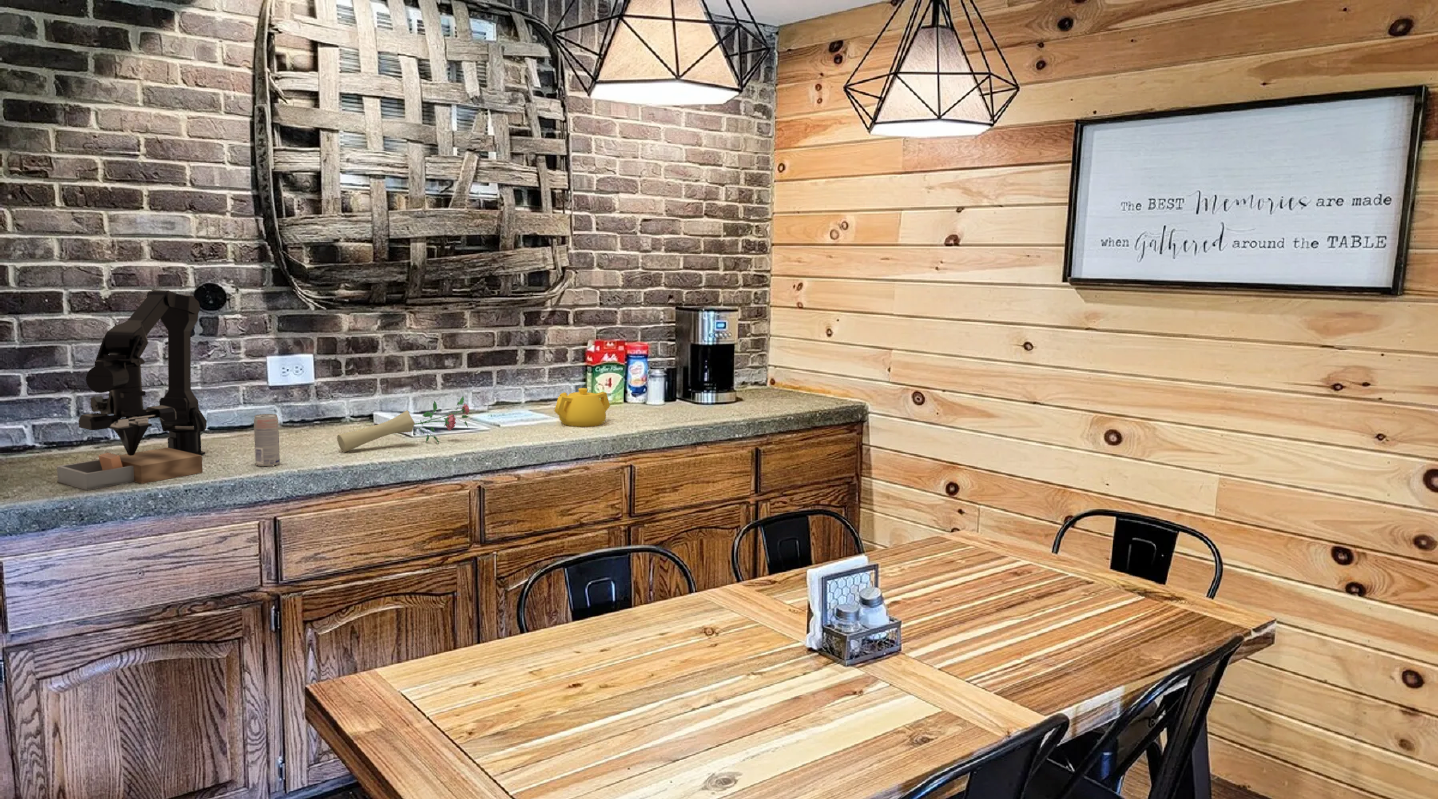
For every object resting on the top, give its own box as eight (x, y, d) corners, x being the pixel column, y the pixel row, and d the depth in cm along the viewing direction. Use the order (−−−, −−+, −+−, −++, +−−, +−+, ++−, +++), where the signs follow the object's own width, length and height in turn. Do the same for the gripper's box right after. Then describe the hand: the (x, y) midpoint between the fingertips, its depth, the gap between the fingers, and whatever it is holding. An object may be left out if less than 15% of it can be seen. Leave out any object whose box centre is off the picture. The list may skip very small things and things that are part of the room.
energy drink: (276, 461, 247) (274, 413, 245) (282, 465, 242) (280, 416, 241) (253, 463, 243) (251, 414, 241) (258, 467, 239) (256, 418, 237)
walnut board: (168, 463, 240) (167, 447, 240) (202, 472, 233) (201, 455, 232) (107, 474, 228) (106, 457, 228) (141, 483, 221) (140, 465, 221)
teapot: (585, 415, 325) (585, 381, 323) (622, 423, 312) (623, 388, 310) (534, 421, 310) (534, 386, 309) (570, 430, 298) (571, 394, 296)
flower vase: (346, 477, 264) (465, 434, 285) (360, 472, 254) (482, 429, 275) (330, 434, 263) (450, 395, 284) (343, 428, 253) (467, 388, 274)
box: (105, 473, 229) (104, 458, 228) (134, 481, 223) (133, 466, 222) (57, 481, 220) (56, 466, 220) (86, 490, 214) (85, 474, 214)
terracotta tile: (107, 452, 224) (98, 455, 222) (119, 455, 221) (110, 458, 220) (113, 473, 226) (104, 476, 224) (125, 476, 223) (116, 479, 221)
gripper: (148, 379, 235) (152, 444, 237) (63, 387, 219) (67, 457, 222) (176, 383, 229) (179, 450, 232) (90, 392, 213) (95, 464, 216)
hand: (131, 455), depth 225 cm, fingers closed
